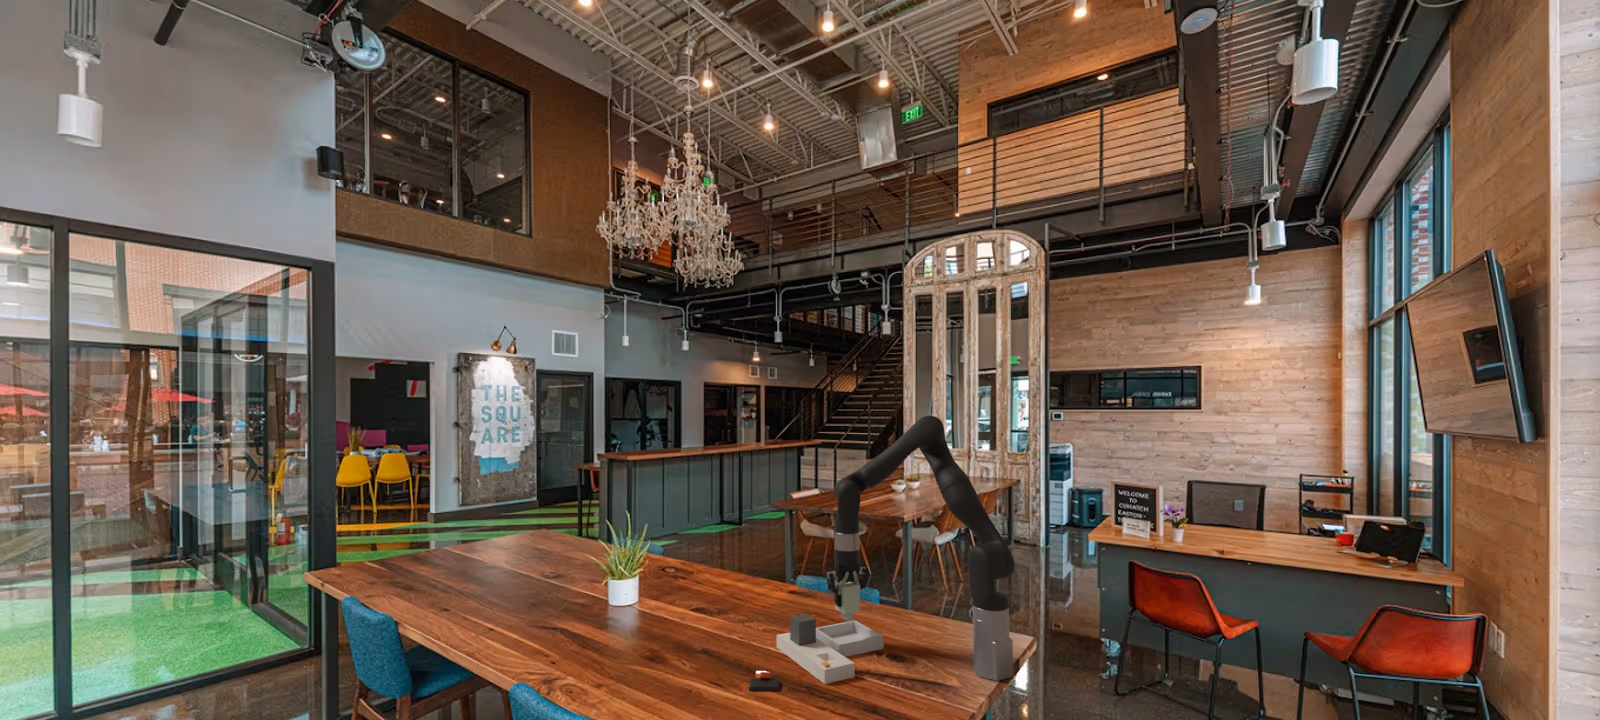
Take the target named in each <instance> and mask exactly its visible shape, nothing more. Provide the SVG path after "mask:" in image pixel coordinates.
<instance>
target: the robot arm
mask: <svg viewBox="0 0 1600 720" xmlns="http://www.w3.org/2000/svg"><path fill="white" fill-rule="evenodd" d="M917 449H918V450H920V452H921V453H922V456H923V457H924V458H925V459H926V461H927V463H928V464H929V467H930V468H931V471H932V473H933V475H934V480H935V483H936V484H937V485H936V486H937V488H938V489H939V493H940V494H941V497H942V499H943V501H944V502H945V505H946V506H947V508H948V511H950V513H951V514H952V515H953V516H954V517H955V518H956V519H957V520H958V521H960V523H962V524H963V525H965V526H966V527H967V528H968V529H969V530H970V531H971V532H972V533H973V534H974V536H975V537H976V538H977V539H978V541H979V543H980V544H979V545H978V544H977V545H975V546H973V547H971V548H970V550H969V552H968V555H967V572H968V587H969V588H968V589H969V593H970V596H971V599H972V637H973V639H972V640H973V671H974V673H975V674H976V675H977V676H979V677H981V678H984V679H987V680H988V679H989V680H994V681H996V682H998V681H1003V680H1005V679H1009V678H1012V677H1014V651H1013V649H1014V647H1013V645H1014V644H1013V639H1012V638H1011V637H1010V611H1009V605H1010V604H1009V597H1008V596H1007V595H1006V594H1005V593H1003V592H1001V591H998V590H996V586H995V580H1002V579H1007V578H1010V577H1011V576H1012V575H1013V574H1014V572H1015V560H1014V556H1013V554H1012V552H1011V550H1010V548H1009V547H1008V544H1007V543H1006V541H1005V539H1004V538H1003V537H1002V535H1001V534H1000V533H999V531H998V530H997V528H996V527H995V525H994V523H993V521H992V520H991V517H990V516H989V514H988V513H987V511H986V509H985V507H984V505H983V504H982V501H981V499H980V498H979V495H978V493H977V491H976V490H975V487H974V485H973V484H972V481H971V480H970V478H969V476H968V474H966V472H964V470H963V469H962V467H960V466H959V464H958V463H957V462H956V460H955V459H954V457H953V455H952V453H951V450H950V448H949V445H948V443H947V438H946V432H945V427H944V423H943V421H942V420H941V419H940V418H939V417H937V416H935V415H925V416H923V417H921V418H919V419H918V420H916V421H915V423H914V424H913V425H911V426H910V428H908V429H907V430H906V432H904V433H903V434H902V435H901V436H900V437H899V438H898V439H896V441H894V442H893V443H892V444H891V445H890V446H889V447H886V449H885V450H883V451H882V452H880V454H878V455H877V456H876V457H874V458H872V459H871V460H870V461H868V462H867V463H865V464H864V465H863V466H862V467H861V468H858V469H857V470H855V471H853V472H852V473H850V474H848V475H846V476H843V478H841V479H840V480H838V481H837V482H836V483H835V485H834V488H833V494H834V497H835V499H836V500H837V513H836V515H835V522H834V523H835V525H834V526H835V533H834V534H835V536H834V563H835V567H834V570H832V571H826V572H825V575H826V576H825V577H826V582H827V583H826V584H827V587H828V588H827V589H828V591H829V592H831V593H832V594H834V605H835V604H836V606H838V607H842V595H841V593H842V587H844V586H845V583H848V582H852V583H854V584H856V585H857V584H858V585H860V592H861V591H862V590H864V589H866V588H867V581H868V574H869V568H868V567H865V566H860V562H861V558H860V557H861V555H860V554H861V549H860V545H861V543H860V531H859V530H860V529H859V527H860V526H859V525H860V524H859V521H860V520H859V514H860V508H861V497H862V496H861V493H862V492H863V493H864V492H865V491H866V490H868V489H872V488H875V487H876V486H878V485H879V484H881V483H882V482H884V481H885V480H886V479H888V478H889V477H890V476H892V475H893V474H894V473H895V472H896V471H897V469H898V468H899V467H900V466H901V465H902V464H903V462H904V461H905V460H906V459H907V458H908V457H909V456H910V455H911V454H913V452H914V451H916V450H917ZM858 575H859V576H858ZM840 582H841V583H840ZM835 584H836V585H835ZM838 585H839V588H838Z"/></svg>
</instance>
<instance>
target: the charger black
mask: <svg viewBox="0 0 1600 720" xmlns="http://www.w3.org/2000/svg"><path fill="white" fill-rule="evenodd" d="M789 618H790V620H789V624H790V625H789V626H790V627H789V631H790V640H791V641H793V642H794V643H796V644H797V645H798V646H801V645H806V644H811V643H816V628H817V627H816V626H817V621H816V618H815V617H813V616H811V615H809V614H807V613H803V614H799V615H792V616H789Z"/></svg>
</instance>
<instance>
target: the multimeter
mask: <svg viewBox="0 0 1600 720" xmlns="http://www.w3.org/2000/svg"><path fill="white" fill-rule="evenodd" d="M776 665H777V664H776V661H774V663H773V668H775V666H776ZM753 672H755V673H754V676H755V678H750V680H749V685H748V686H749V687H748V692H779V689H780V678H772V672H771V671H766V670H763V668H761V669H760V668H757V669H754V670H753Z"/></svg>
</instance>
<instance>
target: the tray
mask: <svg viewBox="0 0 1600 720" xmlns="http://www.w3.org/2000/svg"><path fill="white" fill-rule="evenodd" d="M816 638H817V639H818V640H820V641H821V642H823V643H824V644H826V645H828V646H829V647H831V648H832V649H834V650H835V651H837V652H838V653H840V654H841V655H843V656H844V657H846V658H848V657H851V656H855V655H860V654H865V653H869V652H874V651H878V650H882V649H883V650H884V635H883V634H881V633H879V632H877V631H876V630H873V629H872V628H870V627H868V626H866V625H864V624H862V623H860V622H859V621H857V620H855V619H854V620H849V621H844V622H840V623H839V622H838V623H834V624H829V625H823V626H818V627H816Z"/></svg>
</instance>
